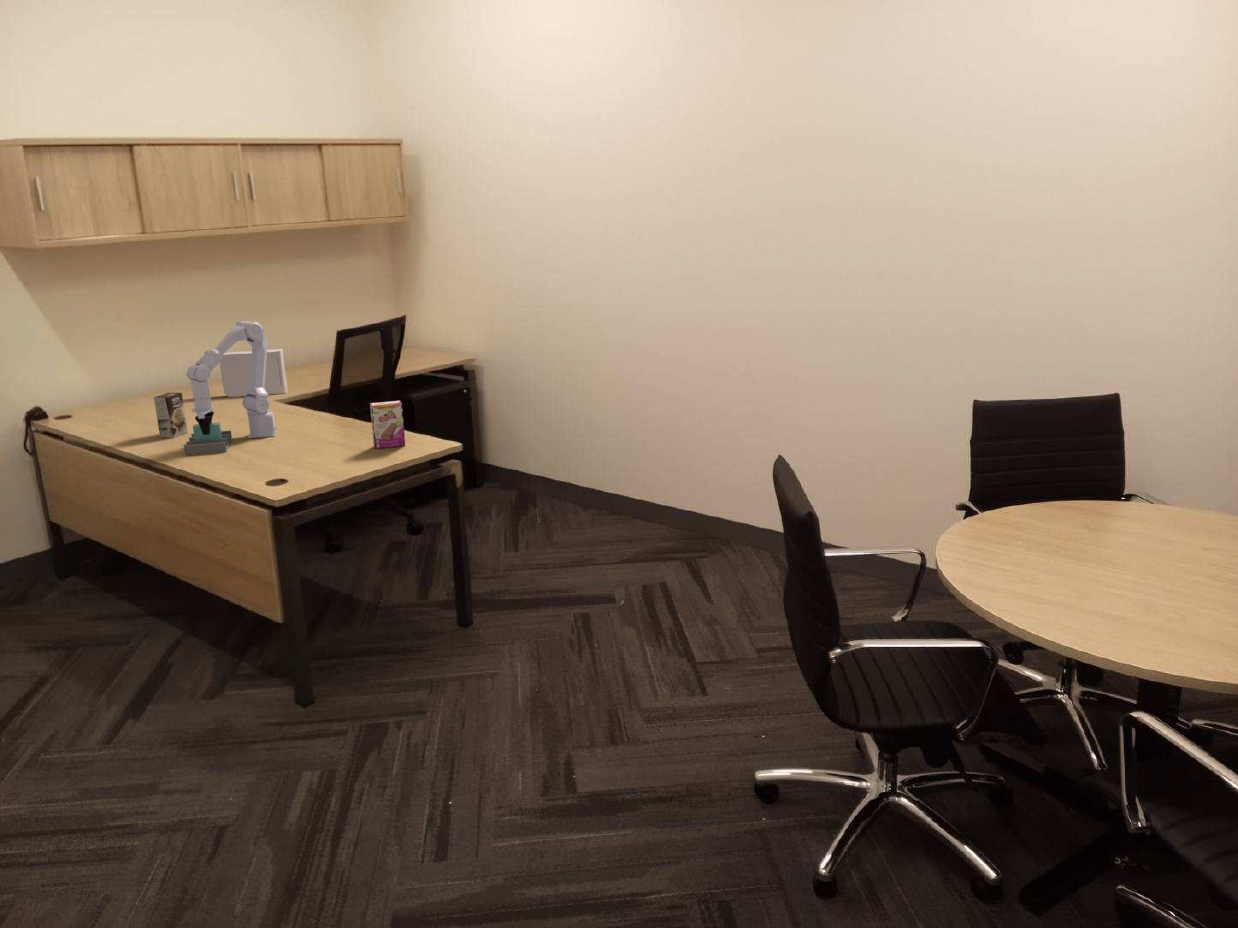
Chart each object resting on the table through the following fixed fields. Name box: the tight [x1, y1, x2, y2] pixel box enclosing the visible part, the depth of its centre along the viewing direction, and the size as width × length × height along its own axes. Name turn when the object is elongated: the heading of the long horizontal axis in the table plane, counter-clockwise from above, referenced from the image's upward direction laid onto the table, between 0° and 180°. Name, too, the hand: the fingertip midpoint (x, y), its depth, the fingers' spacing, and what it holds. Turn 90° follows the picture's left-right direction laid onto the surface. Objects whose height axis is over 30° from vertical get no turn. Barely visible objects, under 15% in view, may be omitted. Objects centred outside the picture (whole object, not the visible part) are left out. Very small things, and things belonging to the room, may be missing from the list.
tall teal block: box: [192, 421, 223, 441], centre depth 358 cm, size 9×4×8 cm, turn 105°
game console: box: [219, 348, 289, 398], centre depth 442 cm, size 6×27×20 cm, turn 106°
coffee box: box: [153, 392, 189, 439], centre depth 375 cm, size 9×6×16 cm
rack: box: [183, 430, 233, 456], centre depth 359 cm, size 14×19×4 cm
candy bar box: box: [369, 400, 406, 450], centre depth 353 cm, size 11×5×16 cm, turn 110°
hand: (207, 433), depth 358 cm, fingers closed on tall teal block, 3 cm apart
